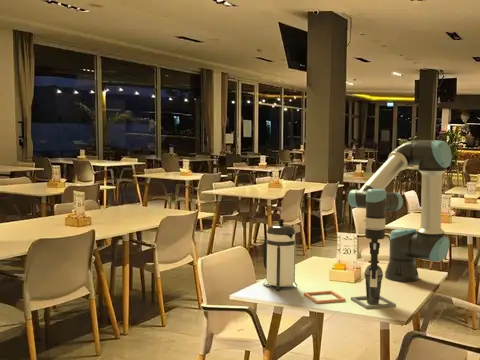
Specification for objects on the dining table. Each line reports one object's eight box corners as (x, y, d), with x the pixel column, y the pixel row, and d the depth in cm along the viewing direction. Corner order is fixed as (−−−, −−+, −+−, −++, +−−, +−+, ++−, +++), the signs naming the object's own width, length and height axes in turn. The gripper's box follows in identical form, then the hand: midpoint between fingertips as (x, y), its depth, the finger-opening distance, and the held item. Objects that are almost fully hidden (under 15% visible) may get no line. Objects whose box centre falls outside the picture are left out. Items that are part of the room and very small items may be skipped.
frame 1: (331, 292, 237) (331, 290, 237) (345, 301, 225) (345, 298, 225) (303, 294, 234) (303, 292, 234) (316, 303, 222) (316, 301, 221)
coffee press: (300, 283, 252) (302, 217, 250) (293, 292, 237) (294, 222, 235) (263, 280, 257) (264, 215, 255) (253, 288, 242) (254, 219, 240)
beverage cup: (384, 305, 220) (386, 255, 219) (366, 305, 220) (368, 255, 218) (378, 300, 227) (380, 251, 226) (361, 300, 227) (362, 251, 225)
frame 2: (378, 297, 231) (378, 295, 231) (395, 306, 219) (395, 303, 219) (350, 299, 228) (350, 297, 228) (366, 308, 216) (366, 306, 215)
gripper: (365, 223, 233) (364, 275, 235) (364, 232, 211) (363, 290, 212) (384, 224, 232) (382, 276, 233) (385, 233, 209) (383, 291, 211)
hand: (373, 283), depth 223 cm, fingers open, 11 cm apart
